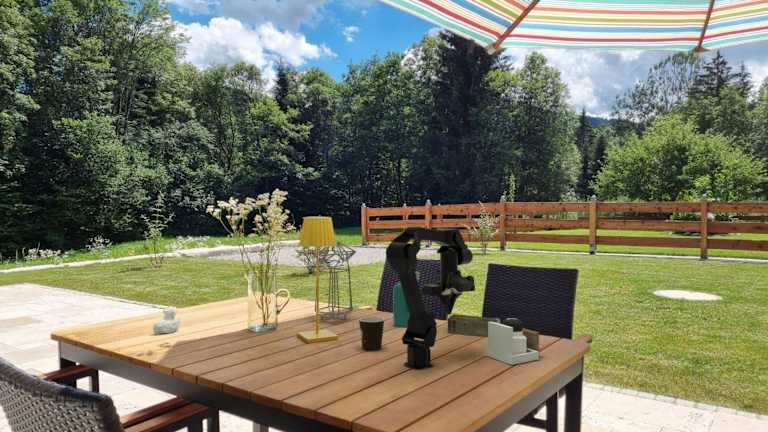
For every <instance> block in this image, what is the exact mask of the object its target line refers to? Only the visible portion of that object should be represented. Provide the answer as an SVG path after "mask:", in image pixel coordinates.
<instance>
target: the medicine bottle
mask: <svg viewBox="0 0 768 432" xmlns="http://www.w3.org/2000/svg"><path fill="white" fill-rule="evenodd" d="M502 325H506V326H510V327H513V355H518V354H523V353H527V338H526V337H525V336H524V335H523V334H522V333H523V328H524V327H523V325H524V323H523V321H522V320H521V319H520V318H506V319H504V320H503V322H502Z"/></svg>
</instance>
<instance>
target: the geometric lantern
mask: <svg viewBox="0 0 768 432" xmlns="http://www.w3.org/2000/svg"><path fill="white" fill-rule="evenodd" d="M335 240H336V241H337V245H334V246H333V247H332V246H331V249H330V247H325V246H323V248H322V249H321V250H320V251H319V252H318V253H319V269H318V270H319V273H329V282H328V284H329V286H328V306H325V307H321V308H318V309H319V310H318V311H319V316H320V322H323V323H332V324H337V323H338V324H339V323H342V322H344V321H347V316H348V315H349V314H350V313H352V311H354V309H353V299H352V298H353V296H352V284H351V268H350V265H349V260H350V259H351V258H352V257H353V256H354V255H355V254H356V253H357V251H356V250H355V249H352V248H351V247H349V246H347V245H345V243H342V242H340V241H338V240H337V239H335ZM344 247H345V248H347V249H348V250H346V249H344ZM349 250H350V251H349ZM316 251H317V250H316V248H315V249H313V250H311V251H310V252H309V254H311V255H312V256H313V257H315V258H316V259H317V256H318V255H317V254H316ZM329 252H332V253H329ZM335 255H336V256H338V257H339V259H338V260H337V261H336V264H335V265H334V267H332V266H331V264H330V263H329V259H331V258H333V257H334V256H335ZM320 256H321V257H320ZM327 256H328V257H327ZM326 257H327V258H326ZM340 261H342V262H341V263H340V265H339V268H338V267H337V265H338V264H339V262H340ZM344 262H346V263H347V268H341V267H342V265H343V264H344ZM322 263H326V265H327V268H323V269H321V266H322ZM327 270H329V271H327ZM336 270H337V271H336ZM339 270H340V271H339ZM342 272H343V273H344V272H347V273H348V285H349V287H348V288H349V289H348V290H349V307H345V306H340V297H339V296H340V295H339V279H338V277H339V276H338V274H339V273H342ZM315 287H316V289H315V291H316V292H315V296H316V295H317V286H315ZM336 294H337V295H336ZM336 297H337V306H336ZM330 300H331V301H330ZM330 304H331V305H330ZM330 308H331V309H330ZM335 308H337V311H338V312H335V313H334V311H335ZM325 309H328V312H325V311H321V310H325ZM340 309H345V311H342V312H340V311H341V310H340ZM314 312H315V313H316V300H315V303H314ZM320 313H321V314H324V315H321V314H320ZM328 315H329V316H328ZM336 315H337V316H336ZM339 315H340V316H339ZM343 317H344V318H343ZM330 319H332V320H334V321H328V320H330Z"/></svg>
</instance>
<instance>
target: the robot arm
mask: <svg viewBox="0 0 768 432" xmlns="http://www.w3.org/2000/svg"><path fill="white" fill-rule="evenodd" d="M410 241H412V242H411V243H409V242H410ZM422 241H426V242H434V244H435V245H439V246H440V247H439V248H438V249H437V250H436V254H439V267H440V268H438V269H437V273H439V275H440V276H439V277H440V279H439V281H437V284H432V283H431V284H423V286H422V287H421V289H420V285H419V280H418V281H417V278H416V274H415V272H416V271H415V267H416V264H417V261H418V259H417V255H418V253H419V252H420V251H421V248H422V247H421V246H422V245H421V242H422ZM385 257H386V259H387V261H388V264H389V266H390V267H391V268H392V269H393V270H394V271H395V273H397V275H398V279H399V283H401V286H402V290H403V293H404V297H405V300H406V304H407V307H408V310H409V314H410V316H409V319H408V321H407V326H408V327H406V330H405V332H404V333H403V335H402V337H401V340H402V345H406V346H407V349H406V352H407V354H406V357H407V358H406V362H404V363H403V365H405V366H407V367H409V368H411V369H414V370H423V369H425V368H426V369H427V368H431V367H434V364H433V363H431V358H432V357H431V355H432V354H431V353H432V352H431V348H433V347H435V344H436V338H437V333H438V332H437V331H438V330H437V325H438V323H437V322H436V317H435V314H434V313H433V312H429V311H427V310H426V307H425V304H424V300H423V297H422V294H423V295H425V296H432V297H436V296H437V297H438V299H439V301H440V302H441V304H442V306H443V308H444V310H445V313H446V315H451V314H452V312H453V310H454V307H455V303H456V301H457V299H458V298H459V297H460V296H462V295H463V293H465V292H467V293H468V292H475V291H476V284H475V276H473V275H467V276H463V275H462V271H461V269H459V268H458V267H459V266H463V265H469V264H470V263H471V262H472V261H473V257H474V254H473V253H472V251H471V249H469V248H468V244H466V242H465V240H464V238H463V235H462V234H461V232H460V230H459V229H458V228H443V227H442V228H436V229H433V228H426V227H421V226H408V227H406V228H405V229H404V230H403V232H402V233H400V234H399V235H397V236H396V237H395V238H393V239H392V241H391V242H390V243H389V244H388V246H387V248H386V250H385Z"/></svg>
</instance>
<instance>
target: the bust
mask: <svg viewBox="0 0 768 432" xmlns="http://www.w3.org/2000/svg"><path fill="white" fill-rule="evenodd" d="M177 309H178V308H177V307H176V306H173V305H171V306H168V307H167V308H164V309H163V310H162V313H163V315H164V317H162V318H161V319H158V320H156V322H155V323H154V324H153V327H152V331H153V333H154V334H156V335H159V334H173V333H174V332H176V331H177V330H178V329H179V325H180V324H181V319H180V316H178V315H176V314H177V312H178V310H177Z"/></svg>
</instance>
